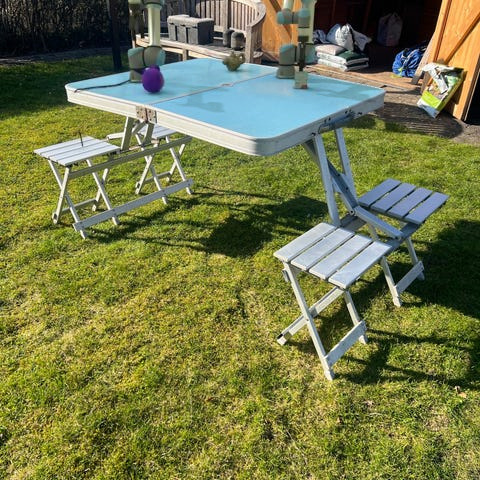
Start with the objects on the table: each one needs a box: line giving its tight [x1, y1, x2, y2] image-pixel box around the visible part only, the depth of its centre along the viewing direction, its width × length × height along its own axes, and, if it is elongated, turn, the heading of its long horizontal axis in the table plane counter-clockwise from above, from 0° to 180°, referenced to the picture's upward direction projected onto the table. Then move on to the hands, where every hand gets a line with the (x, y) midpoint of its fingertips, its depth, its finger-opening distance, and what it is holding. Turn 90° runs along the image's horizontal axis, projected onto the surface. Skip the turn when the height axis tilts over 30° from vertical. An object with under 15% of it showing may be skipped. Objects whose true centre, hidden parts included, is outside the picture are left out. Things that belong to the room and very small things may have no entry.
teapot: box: [221, 50, 246, 72], centre depth 367 cm, size 21×12×15 cm, turn 120°
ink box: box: [293, 69, 309, 90], centre depth 306 cm, size 9×5×12 cm, turn 79°
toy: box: [134, 65, 165, 94], centre depth 304 cm, size 16×18×27 cm
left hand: (138, 39), depth 294 cm, fingers open, 13 cm apart
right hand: (301, 69), depth 302 cm, fingers open, 13 cm apart
